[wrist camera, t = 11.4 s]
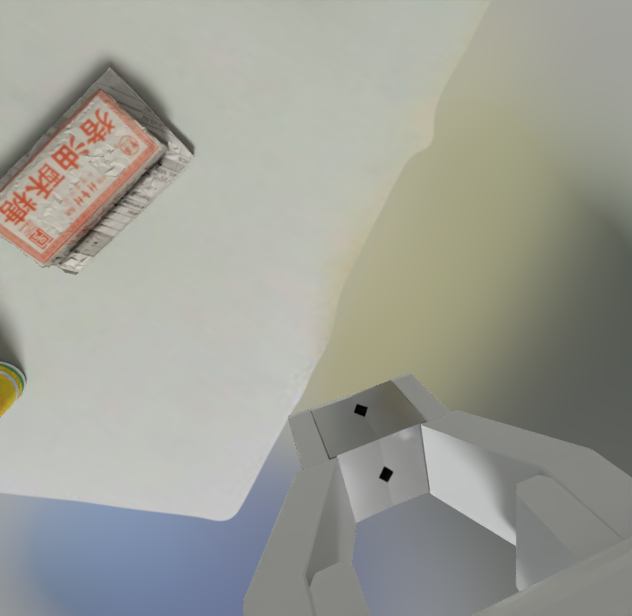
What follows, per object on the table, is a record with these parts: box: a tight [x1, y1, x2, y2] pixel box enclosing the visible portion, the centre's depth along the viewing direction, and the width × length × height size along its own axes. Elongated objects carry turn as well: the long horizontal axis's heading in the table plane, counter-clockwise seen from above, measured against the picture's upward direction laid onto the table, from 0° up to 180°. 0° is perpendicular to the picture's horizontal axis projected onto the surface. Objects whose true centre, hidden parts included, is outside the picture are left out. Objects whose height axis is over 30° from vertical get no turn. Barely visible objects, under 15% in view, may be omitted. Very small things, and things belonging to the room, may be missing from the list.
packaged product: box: [0, 67, 194, 275], centre depth 32 cm, size 18×5×10 cm
